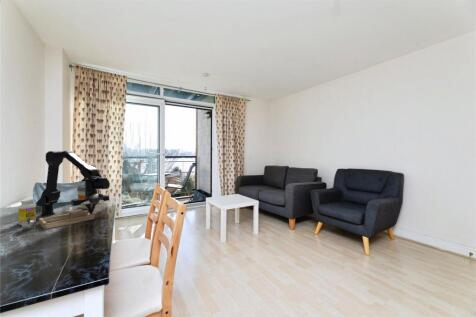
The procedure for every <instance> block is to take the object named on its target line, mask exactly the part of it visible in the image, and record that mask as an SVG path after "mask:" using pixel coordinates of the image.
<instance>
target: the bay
mask: <svg viewBox="0 0 476 317" xmlns="http://www.w3.org/2000/svg"><path fill="white" fill-rule="evenodd" d="M88 213H89V211H88V209H87V210H84V216H82V217H77V218H72V219H69V213H65V214H59V215H54V216H53V215H52V216H49V217H47V216H46V217H39V218H38V220H39V221H38V222H39V225H40V226H41V228H42V229H43V230H48V229H53V228H57V227H62V226H66V225H67V226H68V225H72V224H77V223H81V222H86V221H91V220H95V214H94V213H92V214H88Z"/></svg>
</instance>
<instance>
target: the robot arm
mask: <svg viewBox="0 0 476 317" xmlns="http://www.w3.org/2000/svg"><path fill="white" fill-rule="evenodd" d="M64 159H66V160H67V161H69V162H70V164H72V165H73V166H74V167H76V169H78V170H79V172H80V174H81V175H82V176H83V179H81V180H80V181H81V182H84V185H85V199H84V200H81V199H78V198H74V199H71V200H70V205H71V206H73V207H77V206H80V205H81V204H83V205H85V206H86V207H87V208H86V209H87V211H88V213H89V215H92V214H94V209H95V206H96V207H97V205H98V204H99V203H100V201H103V202H106V201H110V196H109V195H107V194H104V193H103V192H101V193H99V192H98V193H97V190H96V189H98V190H108V189H109V188H110V185H111V182H110V181H109V179H108V178H107V177H103V176H102V174H101V173H100V172H99V170H98V168H96V167H94V166H92V165H90V164H88V163H86V162H85V161H84V160H83V159H81V158H80V157H79V156H78V155H77V154H75V153H74V151H73V150H61V151H60V150H58V151H57V150H49V151H47V152H45V162H46V164H47V165H48V166H47V167H48V169H47V176H46V185H45V189H44V190H43V191H42V193H41V195H40V198H39V199H37V201H36V203H35V205H36V207H40V213H39V216H40V217H47V216H51V215H52V216H53V215H56V212H55V211H54V204H57V203H58V202H59V199H60V198H61V191H60V190H59V189H58V178H59V171H60V169H59V168H60V166H61V164H62V163H63V161H64ZM87 200H88V201H87ZM90 203H91V204H90Z"/></svg>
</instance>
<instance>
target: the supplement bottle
mask: <svg viewBox="0 0 476 317" xmlns="http://www.w3.org/2000/svg"><path fill="white" fill-rule="evenodd" d="M33 202H34V199H33V198H26V199H22V200H20V205H19V206H18V225H19V226H20V225H21V226H22V222H23V221H26V219H28V217H30V220H34V223H36V222H37V219H36V218H37V212H36V210H37V209H36V207H37V205H36V203H33Z"/></svg>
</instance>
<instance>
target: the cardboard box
mask: <svg viewBox="0 0 476 317" xmlns="http://www.w3.org/2000/svg"><path fill="white" fill-rule="evenodd" d="M84 211H85V210H84V209H83V208H80V209H72V210H69V211H68V214H69V218H68V219H72V218H77V217H82V216H85V215H84Z"/></svg>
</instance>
